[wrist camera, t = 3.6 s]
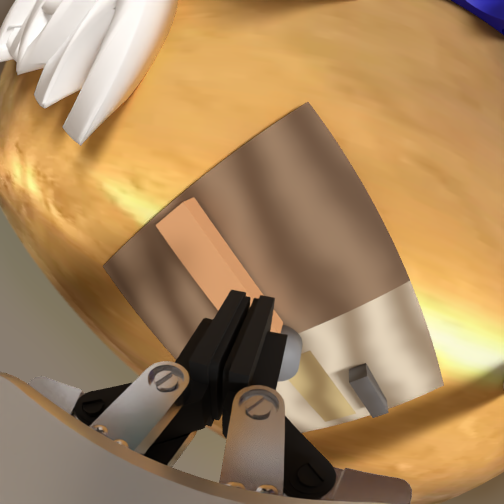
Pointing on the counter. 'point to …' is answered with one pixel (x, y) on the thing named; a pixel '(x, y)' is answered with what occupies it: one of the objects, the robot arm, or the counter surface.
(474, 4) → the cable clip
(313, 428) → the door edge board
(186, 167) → the counter surface
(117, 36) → the wavy white extrusion
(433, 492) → the counter surface
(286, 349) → the bar
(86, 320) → the counter surface
